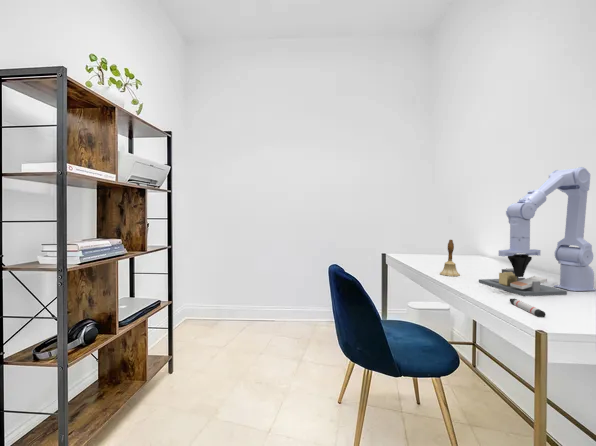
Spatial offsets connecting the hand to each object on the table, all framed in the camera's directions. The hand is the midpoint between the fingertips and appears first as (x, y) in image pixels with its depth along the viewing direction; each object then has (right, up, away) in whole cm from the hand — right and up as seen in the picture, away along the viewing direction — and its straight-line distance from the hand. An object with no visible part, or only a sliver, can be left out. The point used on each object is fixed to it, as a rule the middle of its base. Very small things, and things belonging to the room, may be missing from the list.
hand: (519, 276), depth 113 cm
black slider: (+7, -4, +15) cm, 17 cm away
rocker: (+4, -2, +1) cm, 4 cm away
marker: (-11, -7, -18) cm, 22 cm away
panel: (+5, -6, +8) cm, 11 cm away
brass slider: (+1, -4, +7) cm, 8 cm away
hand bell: (-8, -5, +34) cm, 36 cm away
